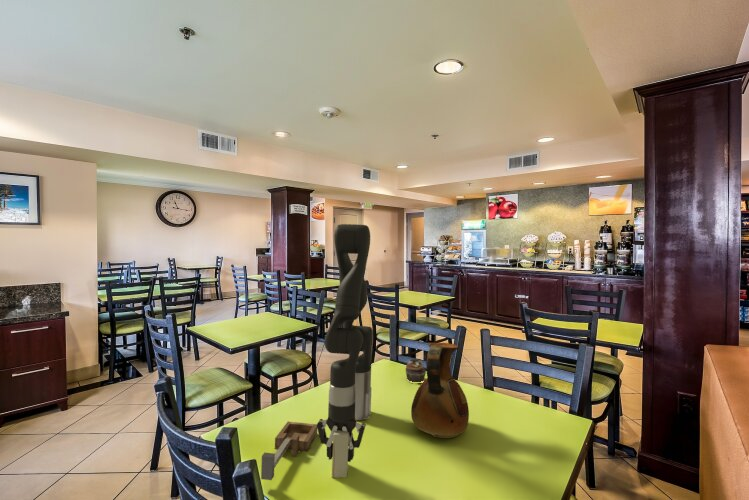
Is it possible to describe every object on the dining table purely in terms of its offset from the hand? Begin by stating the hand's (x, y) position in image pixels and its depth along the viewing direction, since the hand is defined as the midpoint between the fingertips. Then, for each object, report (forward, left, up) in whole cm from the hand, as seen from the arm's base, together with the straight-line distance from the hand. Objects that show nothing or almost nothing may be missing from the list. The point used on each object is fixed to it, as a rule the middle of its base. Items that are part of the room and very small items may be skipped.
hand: (340, 458), depth 99 cm
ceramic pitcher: (-29, -28, -4) cm, 40 cm away
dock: (+17, -11, -3) cm, 20 cm away
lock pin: (+17, +3, -1) cm, 17 cm away
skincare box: (0, 0, -4) cm, 4 cm away
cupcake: (-20, -71, -4) cm, 74 cm away
